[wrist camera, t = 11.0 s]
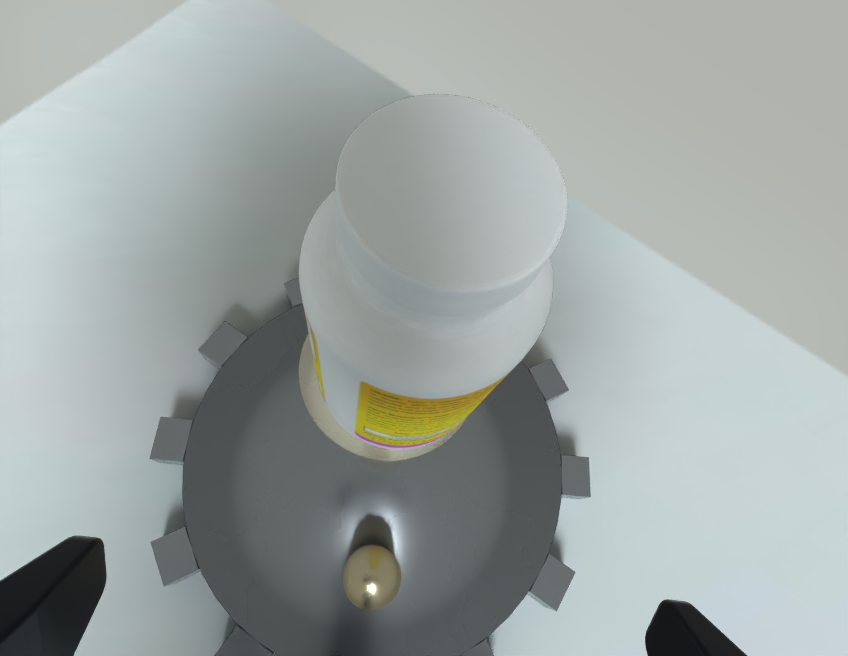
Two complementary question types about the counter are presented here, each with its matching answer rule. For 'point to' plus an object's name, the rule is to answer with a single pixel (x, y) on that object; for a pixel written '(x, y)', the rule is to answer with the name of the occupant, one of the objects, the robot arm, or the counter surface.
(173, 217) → the counter surface
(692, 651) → the robot arm
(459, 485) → the sprocket plate
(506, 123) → the supplement bottle
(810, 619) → the counter surface
